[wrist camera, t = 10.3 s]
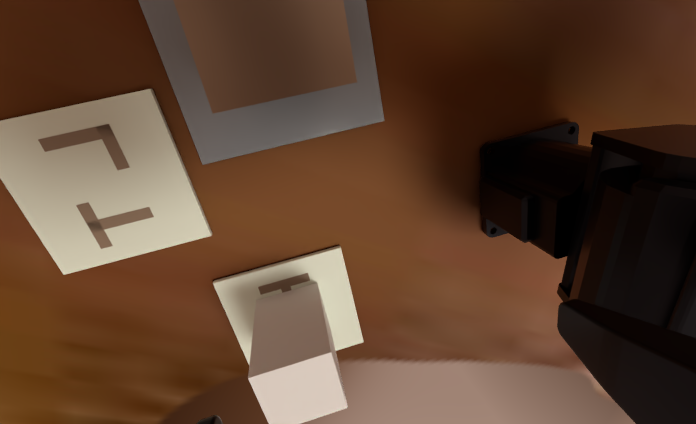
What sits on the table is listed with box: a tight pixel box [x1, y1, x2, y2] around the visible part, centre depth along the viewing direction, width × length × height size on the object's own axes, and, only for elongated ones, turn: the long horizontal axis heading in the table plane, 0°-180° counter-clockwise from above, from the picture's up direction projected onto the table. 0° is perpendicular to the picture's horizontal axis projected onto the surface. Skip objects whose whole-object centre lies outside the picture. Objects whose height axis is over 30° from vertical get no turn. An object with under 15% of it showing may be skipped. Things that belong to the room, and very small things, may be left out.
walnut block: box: [173, 0, 357, 114], centre depth 13 cm, size 5×5×6 cm
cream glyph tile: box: [0, 89, 212, 275], centre depth 17 cm, size 8×8×1 cm
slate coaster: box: [138, 0, 384, 165], centre depth 16 cm, size 10×10×1 cm
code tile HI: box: [213, 246, 364, 365], centre depth 22 cm, size 8×8×1 cm
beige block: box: [248, 283, 348, 424], centre depth 19 cm, size 4×4×6 cm
